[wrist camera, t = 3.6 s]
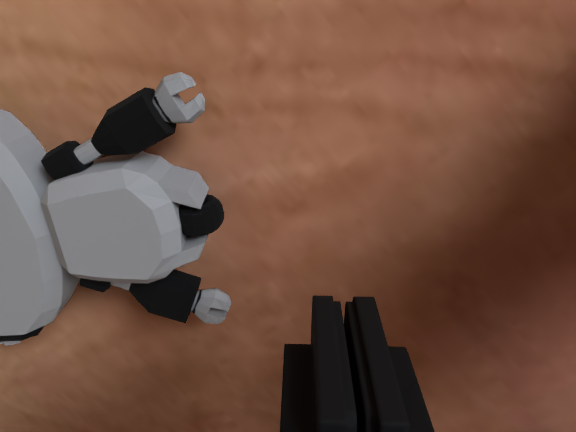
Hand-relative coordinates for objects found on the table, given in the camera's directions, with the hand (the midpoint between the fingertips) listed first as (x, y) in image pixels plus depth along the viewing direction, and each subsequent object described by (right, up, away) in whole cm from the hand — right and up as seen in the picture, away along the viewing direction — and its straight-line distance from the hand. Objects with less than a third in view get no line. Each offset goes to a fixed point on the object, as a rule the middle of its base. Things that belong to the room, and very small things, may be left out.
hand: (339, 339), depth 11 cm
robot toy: (-11, +4, +8) cm, 15 cm away
